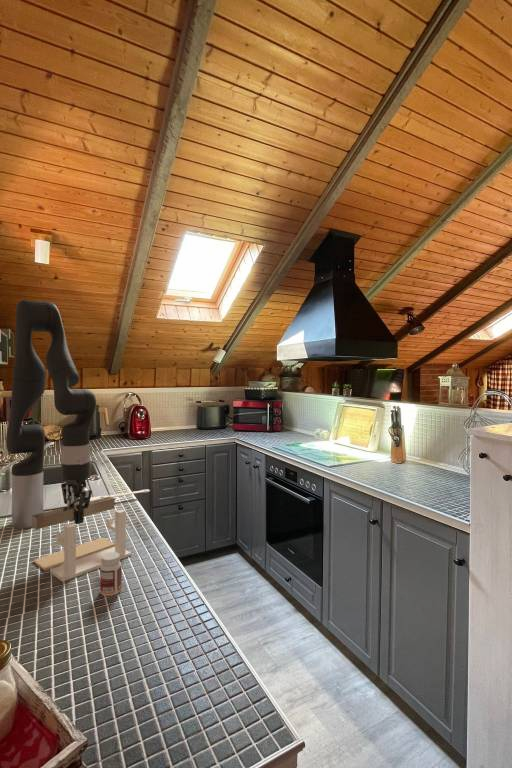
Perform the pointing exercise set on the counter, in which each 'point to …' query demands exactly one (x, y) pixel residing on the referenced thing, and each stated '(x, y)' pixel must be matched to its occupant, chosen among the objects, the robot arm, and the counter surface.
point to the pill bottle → (110, 574)
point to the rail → (71, 513)
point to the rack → (92, 561)
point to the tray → (81, 551)
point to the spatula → (118, 495)
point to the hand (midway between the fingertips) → (76, 521)
